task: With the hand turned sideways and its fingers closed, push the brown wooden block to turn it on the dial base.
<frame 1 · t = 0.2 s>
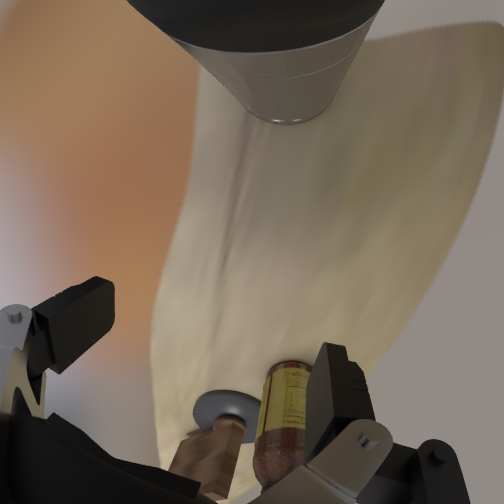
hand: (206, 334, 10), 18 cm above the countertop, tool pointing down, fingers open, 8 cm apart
dial base: (233, 416, 35), on the countertop
sauce bottle: (292, 376, 32), on the countertop
brown wooden block: (199, 465, 29), point 8 cm above the countertop, hinge at -35.0°
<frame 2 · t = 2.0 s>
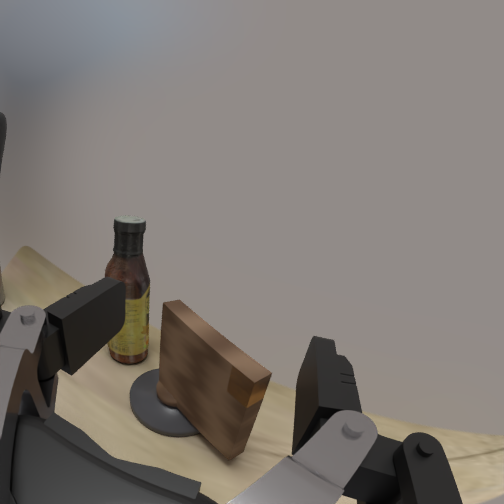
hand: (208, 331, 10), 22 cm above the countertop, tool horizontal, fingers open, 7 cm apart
dial base: (173, 402, 31), on the countertop
sauce bottle: (127, 352, 38), on the countertop
brown wooden block: (201, 382, 26), point 8 cm above the countertop, hinge at -35.0°
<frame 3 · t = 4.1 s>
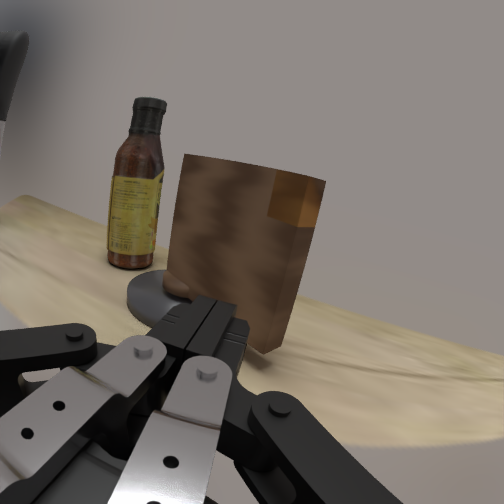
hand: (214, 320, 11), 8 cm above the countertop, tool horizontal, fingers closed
dial base: (183, 303, 27), on the countertop
sauce bottle: (128, 262, 34), on the countertop
brown wooden block: (226, 240, 22), point 8 cm above the countertop, hinge at -35.0°
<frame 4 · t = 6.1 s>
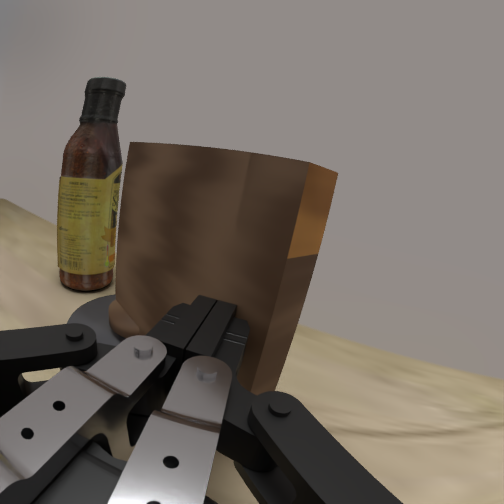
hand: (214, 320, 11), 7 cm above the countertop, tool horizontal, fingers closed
dial base: (138, 342, 19), on the countertop
sauce bottle: (85, 281, 26), on the countertop
brown wooden block: (181, 267, 14), point 8 cm above the countertop, hinge at -34.1°, touching gripper
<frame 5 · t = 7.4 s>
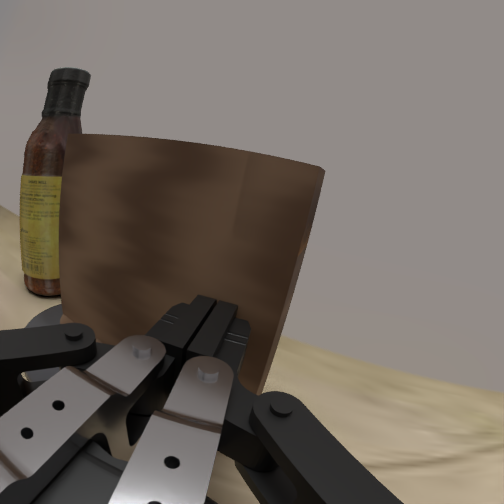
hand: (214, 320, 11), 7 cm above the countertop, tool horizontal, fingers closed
dial base: (95, 354, 16), on the countertop
sauce bottle: (51, 285, 23), on the countertop
brown wooden block: (147, 270, 13), point 8 cm above the countertop, hinge at -12.4°, touching gripper
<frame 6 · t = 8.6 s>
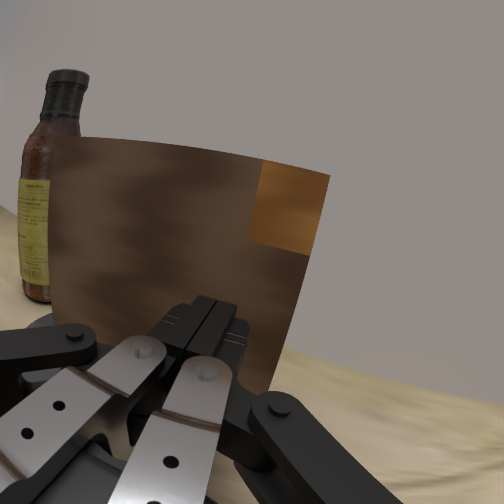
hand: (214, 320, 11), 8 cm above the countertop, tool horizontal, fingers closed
dial base: (90, 365, 15), on the countertop
sauce bottle: (50, 290, 22), on the countertop
brown wooden block: (151, 276, 13), point 8 cm above the countertop, hinge at -0.4°
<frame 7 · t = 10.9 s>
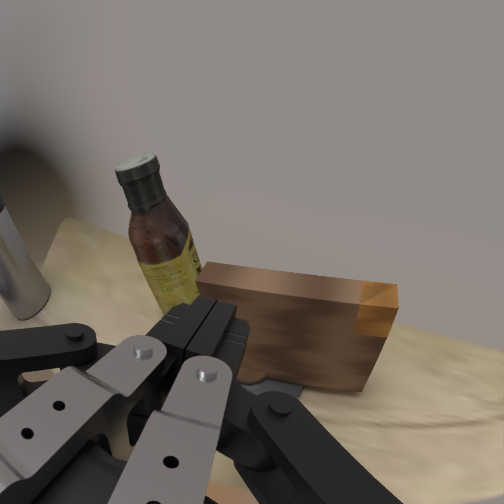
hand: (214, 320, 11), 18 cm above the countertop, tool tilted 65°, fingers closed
dial base: (251, 372, 27), on the countertop
sauce bottle: (190, 313, 35), on the countertop
brown wooden block: (294, 338, 21), point 8 cm above the countertop, hinge at -0.4°
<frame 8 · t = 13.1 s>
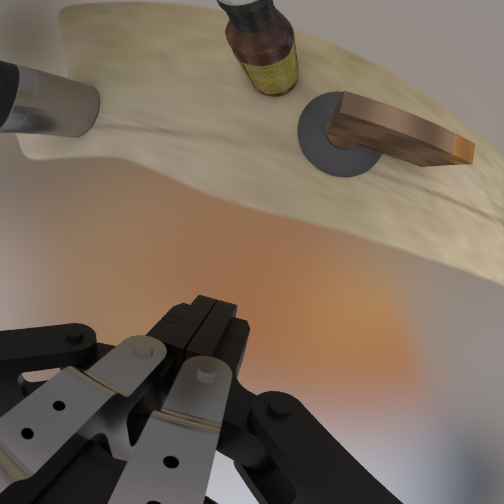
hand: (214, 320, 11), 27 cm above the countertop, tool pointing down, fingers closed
dial base: (341, 134, 33), on the countertop
sauce bottle: (273, 76, 32), on the countertop
brown wooden block: (392, 135, 25), point 8 cm above the countertop, hinge at -0.4°
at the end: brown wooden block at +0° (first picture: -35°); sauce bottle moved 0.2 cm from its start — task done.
